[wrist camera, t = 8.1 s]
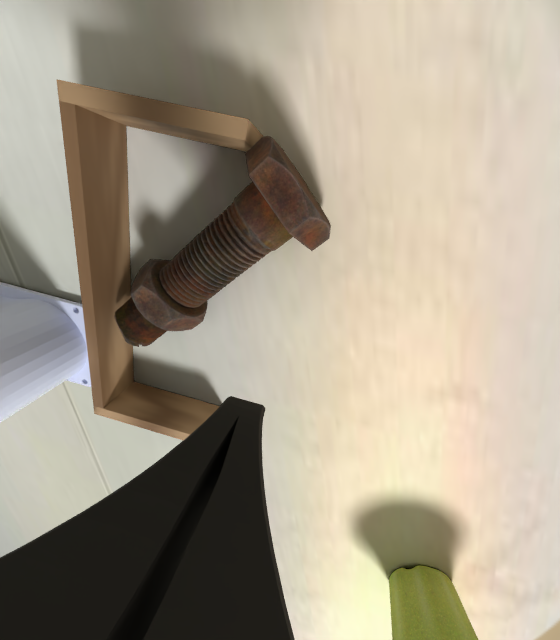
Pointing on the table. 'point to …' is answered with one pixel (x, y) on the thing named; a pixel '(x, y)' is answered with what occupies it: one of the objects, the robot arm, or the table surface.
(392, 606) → the plant pot
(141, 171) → the table surface
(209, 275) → the bolt
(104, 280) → the frame
